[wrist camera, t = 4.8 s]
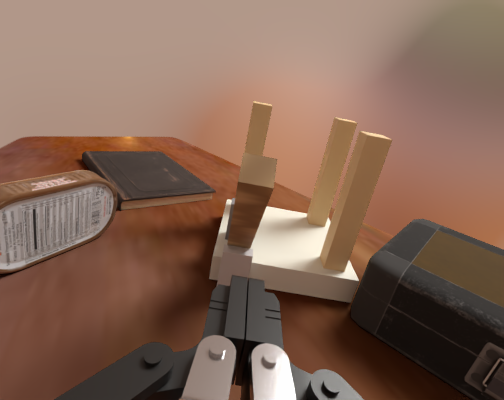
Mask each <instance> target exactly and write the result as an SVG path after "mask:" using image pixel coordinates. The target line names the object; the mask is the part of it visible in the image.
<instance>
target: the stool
mask: <svg viewBox="0 0 504 400" xmlns="http://www.w3.org/2000/svg"><path fill="white" fill-rule="evenodd" d="M271 110H272V105H270V104H265V103H261V102H256V101H254V103H253V109H252V114H251V119H250V125H249V131H248V136H247V142H246V147H245V152H244V153H248V154H253V155H258V156H262V154H263V149H264V145H265V140H266V134H267V130H268V125H269V120H270V115H271ZM356 126H357V123H356V122H354V121H350V120H346V119H341V118H336V117H335V118H334V121H333V125H332V128H331V132H330V135H329V139H328V143H327V146H326V150H325V153H324V157H323V160H322V164H321V167H320V171H319V174H318V178H317V181H316V185H315V188H314V192H313V196H312V199H311V203H310V206H309V210H308V213H307V214H306V213H300V212H295V211H289V210H284V209H278V208H273V207H266V209H265V212H264V214H263V217H262V219H261V222H260V225H259V227H258V230H257V232H256V235H255V238H254V240H253V243H252V245H251V248H250V249H249V248H243V247H237V246H232V245H227V243H228V238H229V232H230V226H231V220H232V214H233V209H234V203H235V198H232V200H229V199H227V203H226V207H225V210H224V214H223V218H222V222H221V226H220V230H219V234H218V237H217V241H216V245H215V249H214V253H213V257H212V263H211V269H210V276H209V279H212V280H218V282H217V286H218V284H220V285H226V286H230V282H231V277H232V275H236V276H242V277H247V278H254V279H260V280H264V282H265V288H266V289H272V290H278V291H283V292H289V293H295V294H301V295H307V296H313V297H319V298H325V299H331V300H337V301H343V302H349V303H351V301H352V298H353V296H354V293H355V291H356V288H357V286H358V283H359V279H358V277H357V275H356V273H355V271H354V269H353V267H352V265H351V263H350V261H349V258H350V255H351V253H352V250H353V247H354V244H355V242H356V239H357V236H358V233H359V231H360V228H361V225H362V222H363V220H364V217H365V214H366V211H367V208H368V206H369V203H370V200H371V197H372V195H373V192H374V189H375V186H376V184H377V181H378V178H379V175H380V173H381V170H382V167H383V164H384V162H385V159H386V156H387V153H388V150H389V147H390V145H391V142H392V140H391V139H389V138H387V137H385V136H383V135H378V134H373V133H368V132H363V131H359V135H358V138H357V141H356V144H355V147H354V150H353V154H352V157H351V160H350V163H349V166H348V170H347V173H346V175H345V179H344V182H343V185H342V188H341V191H340V194H339V197H338V201H337V204H336V207H335V210H334V213H333V216H332V219H331V222H330V220H329V218H328V215H329V212H330V209H331V206H332V203H333V199H334V196H335V193H336V190H337V187H338V183H339V180H340V177H341V174H342V171H343V167H344V164H345V161H346V158H347V155H348V151H349V148H350V145H351V142H352V139H353V135H354V132H355V129H356Z"/></svg>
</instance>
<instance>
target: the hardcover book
mask: <svg viewBox="0 0 504 400" xmlns="http://www.w3.org/2000/svg"><path fill="white" fill-rule="evenodd" d="M82 160H83V162H84V163H85V164H86V166H87V167H88V168H89V170H90V171H91V172H94V173H96V174H97V175H99V176H100V177H101V178H103V179H105V180H107V181H108V182H110V183H111V184H112V185H113V186H114V188H115V189H116V191H117V207H118V209H119V210H120V211H121V210H125V209H134V208H142V207H151V206H159V205H167V204H176V203H184V202H193V201H201V200H209V199H212V194H213V193H215V192H216V191H215V190H214V189H213V188H211V187H210V186H208V185H207V184H206V183H204V182H203V181H201V180H200V179H199V178H197V177H196V176H195V175H193V174H192V173H190V172H189V171H188V170H186V169H185V168H183V167H182V166H181V165H179V164H178V163H177V162H175V161H174V160H172V159H171V158H170V157H168V156H167V155H165V154H164V153H163V152H109V151H86V152H84V153H83V154H82Z"/></svg>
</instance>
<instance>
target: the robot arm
mask: <svg viewBox="0 0 504 400" xmlns="http://www.w3.org/2000/svg"><path fill="white" fill-rule="evenodd" d="M235 376H236V380H235ZM234 380H235V385H239V386H242V387H241V398H240V400H364V399H363V398H362V397H361V396H360V395H359V394H358V393H357V392H356V391H355V390H354V389H353V388H352V387H351V386H350V385H349V384H348V383H347V382H346V381H345V380H344V379H343V378H342V377H341V376H340V375H338V374H337V373H335V372H333V371H331V370H326V369H321V370H318V371H316V372H315V373H314V374H313V375H312V374H309V373H307V372H305V371H303V370H301V369H299V368H297V367H296V366H294V365H293V364H292V363H291V362H290V361H289V359H288V356H287V355H286V353H285V352H284V349H283V338H282V327H281V316H280V304H279V301H278V299H277V297H276V296H275V294H274V293H268V292H265V282H264V280H260V279H254V278H247V277H242V276H236V275H232V277H231V282H230V286H226V285H220V284H218V286H217V287H216V288H215V289H214V290H213V291H212V296H211V300H210V305H209V309H208V314H207V319H206V323H205V328H204V332H203V336H202V339H201V341H200V342H199V343H198V344H197V345H196V346H195V347H193V348H191V349H189V350H186V351H180V352H173V351H172V349H171V348H170V347H169V346H167V345H166V344H163V343H159V342H152V343H147V344H145V345H143V346H141V347H139V348H138V349H136V350H134V351H133V352H131V353H129V354H128V355H126V356H124V357H123V358H121V359H120V360H118V361H116V362H115V363H113V364H111V365H110V366H108V367H106V368H105V369H103V370H102V371H100V372H98V373H97V374H95V375H93V376H92V377H90V378H89V379H87V380H85V381H84V382H82V383H80V384H79V385H77V386H75V387H74V388H72V389H71V390H69V391H67V392H66V393H64V394H62V395H61V396H59V397H57V398H56V399H54V400H228V398H229V392H230V387H231V384H232V385H233V384H234Z"/></svg>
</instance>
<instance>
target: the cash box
mask: <svg viewBox="0 0 504 400" xmlns="http://www.w3.org/2000/svg"><path fill="white" fill-rule="evenodd" d="M351 318H352V319H353V320H354V321H355V322H356V323H357V324H358V325H359V326H360V327H362V328H363V329H365V330H366V331H368V332H369V333H371V334H372V335H374V336H375V337H377V338H378V339H380V340H382V341H383V342H385V343H386V344H388V345H389V346H391V347H392V348H394V349H395V350H397V351H398V352H400V353H402V354H403V355H405V356H406V357H408V358H409V359H411V360H412V361H414V362H415V363H417V364H418V365H420V366H422V367H423V368H425V369H426V370H428V371H429V372H431V373H432V374H434V375H435V376H437V377H439V378H440V379H442V380H443V381H445V382H446V383H448V384H449V385H451V386H452V387H454V388H455V389H457V390H459V391H460V392H462V393H463V394H465V395H466V396H468V397H469V398H471V399H472V400H504V250H502V249H500V248H498V247H495V246H493V245H490V244H487V243H485V242H482V241H480V240H477V239H475V238H472V237H470V236H467V235H464V234H462V233H459V232H457V231H454V230H452V229H449V228H447V227H444V226H441V225H439V224H436V223H434V222H431V221H428V220H425V219H416V220H413V221H412V222H410V223H409V224H408V225H407V226H406V227H405V228H404V229H403V230H402V231H400V232H399V233H398V234H397V235H396V236H395V237H393V238H392V239H391V240H390V241H389V242H388V243H387V244H385V245H384V246H383V247H382V248H381V249H380V250H379V251H378V252H376V253H375V254H374V255H373V256H372V257H371V258H370V260H369V262H368V265H367V267H366V270H365V273H364V275H363V278H362V280H361V283H360V285H359V288H358V290H357V293H356V295H355V298H354V301H353V303H352V306H351Z"/></svg>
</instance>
